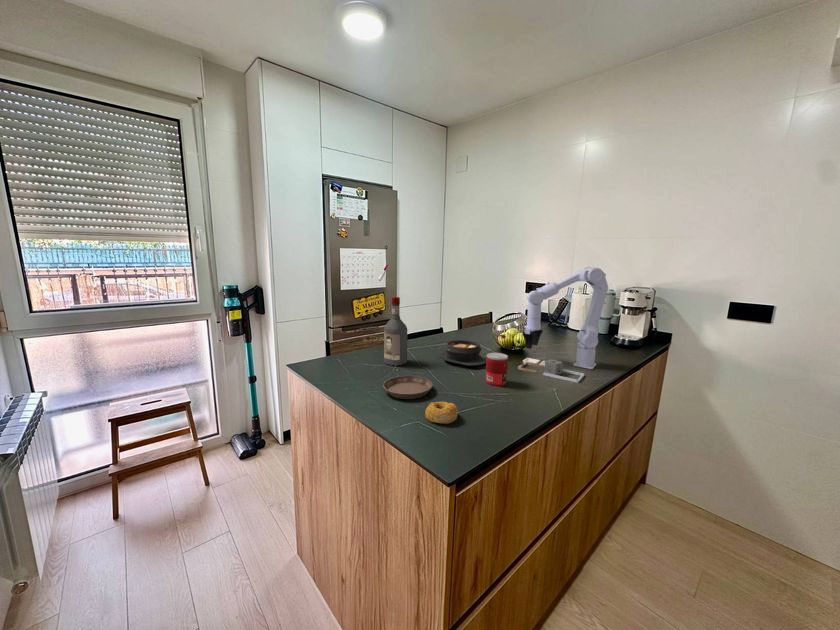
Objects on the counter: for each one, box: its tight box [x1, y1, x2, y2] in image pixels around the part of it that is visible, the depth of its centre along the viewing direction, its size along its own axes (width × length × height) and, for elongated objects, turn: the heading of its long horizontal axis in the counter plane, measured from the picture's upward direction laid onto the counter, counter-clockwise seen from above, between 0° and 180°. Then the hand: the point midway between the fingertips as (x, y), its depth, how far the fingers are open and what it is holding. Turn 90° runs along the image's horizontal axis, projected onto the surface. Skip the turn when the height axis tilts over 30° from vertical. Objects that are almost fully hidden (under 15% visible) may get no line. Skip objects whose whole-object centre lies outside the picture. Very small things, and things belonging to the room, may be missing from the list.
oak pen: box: [517, 362, 545, 374], centre depth 145 cm, size 10×8×1 cm
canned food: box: [485, 352, 509, 387], centre depth 127 cm, size 8×8×11 cm
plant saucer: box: [382, 375, 433, 400], centre depth 119 cm, size 18×18×3 cm
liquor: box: [383, 296, 408, 367], centre depth 148 cm, size 9×9×30 cm
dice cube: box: [543, 358, 563, 376], centre depth 140 cm, size 5×5×5 cm
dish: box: [522, 357, 541, 364], centre depth 154 cm, size 6×6×1 cm
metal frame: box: [542, 368, 585, 383], centre depth 137 cm, size 10×14×1 cm
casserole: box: [439, 339, 486, 367], centre depth 154 cm, size 25×19×8 cm
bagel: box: [424, 401, 459, 425], centre depth 100 cm, size 10×11×5 cm
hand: (531, 346), depth 152 cm, fingers open, 7 cm apart
